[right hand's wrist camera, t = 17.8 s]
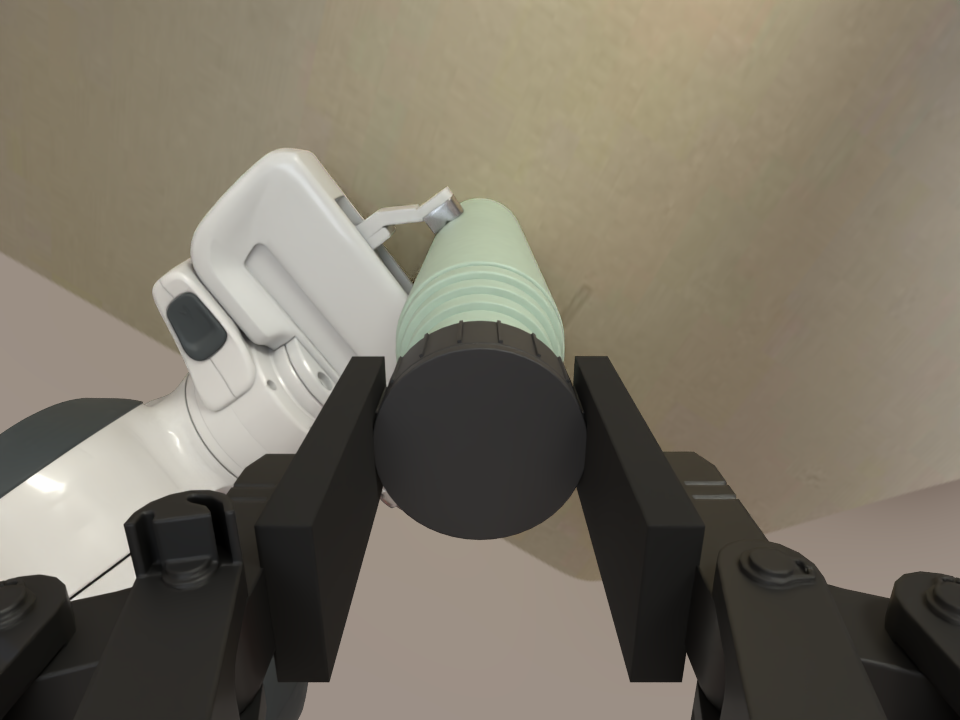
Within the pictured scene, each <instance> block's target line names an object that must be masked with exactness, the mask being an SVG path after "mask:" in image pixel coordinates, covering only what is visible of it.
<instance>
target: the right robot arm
mask: <svg viewBox="0 0 960 720" xmlns="http://www.w3.org/2000/svg"><path fill="white" fill-rule="evenodd" d="M385 387H386V371H385V356H352V357H351V359H350V361H349V363H348V364H347V366H346V368H345V370H344V371H343V373H342V375H341V376H340V378H339V380H338V382H337V383H336V385H335V387H334V389H333V390H332V392H331V394H330V395H329V397H328V399H327V401H326V402H325V404H324V406H323V408H322V409H321V411H320V413H319V414H318V416H317V418H316V420H315V421H314V423H313V425H312V427H311V428H310V430H309V432H308V433H307V435H306V437H305V439H304V440H303V442H302V444H301V446H300V447H299V449H298V451H297V452H296V454H265V455H263V456H262V457H260V458H259V459H257V460H256V461H254V462H253V463H251V464H250V465H248V466H247V467H245V469H244V470H243V471H242V473H241V474H240V476H239V477H238V478H237V480H236V481H235V483H234V486H233V487H231V488H230V490H229V491H228V493H227V494H225V493H221V492H216V491H212V490H189V491H184V492H179V493H174V494H170V495H167V496H165V497H162V498H159V499H157V500H154V501H152V502H150V503H148V504H146V505H145V506H143V507H142V508H140V509H139V510H137V511H135V512H134V513H133V514H132V515H131V516H130V517H129V519H128V520H127V521H126V522H125V523H124V524H123V525H124V529H125V533H126V537H127V542H128V546H129V550H130V554H131V558H132V562H133V567H134V571H135V575H136V579H135V582H134V584H133V586H132V587H130V588H127V589H123V590H119V591H116V592H111V593H106V594H102V595H97V596H92V597H87V598H83V599H78V600H73V601H70V599H69V596H68V592H67V589H66V585H65V584H64V583H63V582H62V581H60V580H59V579H58V578H57V577H53V576H47V575H42V574H38V575H28V576H19V577H15V578H11V579H7V580H5V581H4V580H3V581H0V720H265V718H266V709H267V706H266V699H265V692H264V686H263V680H264V677H265V674H266V672H267V669H268V667H269V664H270V662H271V659H272V657H273V654H274V661H275V667H276V674H277V680H278V682H329V681H330V678H331V674H332V670H333V667H334V663H335V660H336V656H337V652H338V649H339V645H340V641H341V638H342V634H343V630H344V627H345V623H346V620H347V616H348V612H349V609H350V605H351V601H352V598H353V594H354V590H355V587H356V583H357V580H358V576H359V572H360V569H361V565H362V561H363V558H364V554H365V551H366V547H367V543H368V540H369V536H370V532H371V529H372V525H373V521H374V518H375V514H376V511H377V507H378V503H379V500H380V496H381V493H382V489H383V485H382V483H381V480H380V478H379V476H378V474H377V470H376V467H375V457H374V443H373V429H374V423H375V420H376V417H377V416H376V414H375V412H376V409H377V407H378V404H379V401H380V399H381V396H382V393H383V391H384V388H385ZM573 387H575V389H576V392H577V395H578V397H579V400H580V403H581V405H582V408H583V410H584V419H585V423H586V427H587V436H586V451H585V465H584V471H583V474H582V476H581V478H580V481H579V483H578V485H577V490H578V494H579V498H580V501H581V505H582V508H583V512H584V516H585V519H586V523H587V527H588V530H589V534H590V538H591V541H592V545H593V548H594V552H595V556H596V559H597V563H598V567H599V570H600V574H601V578H602V581H603V585H604V588H605V592H606V596H607V599H608V603H609V606H610V610H611V614H612V618H613V621H614V625H615V628H616V632H617V636H618V639H619V643H620V647H621V650H622V654H623V657H624V661H625V665H626V668H627V672H628V675H629V679H630V682H682V678H683V671H684V664H685V657H686V652H687V655H688V657H689V660H690V662H691V665H692V667H693V670H694V672H695V675H696V677H697V686H696V692H695V698H694V704H693V710H692V717H691V720H960V578H954V577H953V576H949V575H944V574H939V573H930V572H921V571H920V572H914V573H908V574H904V575H902V576H901V577H900V578H899V579H898V580H897V581H895V583H894V587H893V590H892V594H891V597H890V598H885V597H880V596H876V595H871V594H866V593H861V592H857V591H852V590H847V589H843V588H839V587H835V586H832V585H828V584H827V583H826V581H825V578H824V577H823V575H822V574H821V572H820V571H819V570H818V568H817V567H816V566H815V564H814V563H812V562H811V561H809V560H808V559H807V558H805V557H804V556H803V555H801V554H800V553H799V552H796V551H794V550H792V549H790V548H787V547H785V546H783V545H781V544H777V543H773V542H769V541H768V540H767V538H766V537H765V535H764V534H763V533H762V531H761V530H760V528H759V527H758V526H757V524H756V523H755V521H754V520H753V519H752V517H751V516H750V514H749V513H748V512H747V510H746V509H745V507H744V506H743V505H742V503H741V502H740V500H739V499H736V495H735V493H734V492H733V491H732V489H731V488H730V486H729V485H727V484H726V481H725V479H724V478H723V477H722V475H721V474H720V472H719V471H718V470H717V468H716V467H715V466H714V465H713V464H711V463H710V462H708V461H707V460H705V459H704V458H702V457H701V456H699V455H698V454H696V453H695V452H663V451H662V450H661V448H660V446H659V445H658V443H657V441H656V439H655V438H654V436H653V434H652V432H651V431H650V429H649V427H648V426H647V424H646V422H645V420H644V419H643V417H642V415H641V413H640V412H639V410H638V408H637V407H636V405H635V403H634V401H633V400H632V398H631V396H630V394H629V393H628V391H627V389H626V388H625V386H624V384H623V382H622V381H621V379H620V377H619V375H618V374H617V372H616V370H615V369H614V367H613V365H612V363H611V362H610V360H609V358H608V356H575V364H574V381H573Z"/></svg>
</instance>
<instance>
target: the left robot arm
mask: <svg viewBox="0 0 960 720" xmlns="http://www.w3.org/2000/svg"><path fill="white" fill-rule="evenodd" d="M463 212H464V209H463V208H462V206H461V205H460V203H459V202H458V200H457V199H456V197H455V196H454V194H453V193H452V192H451V190H450V189H449V187H448V186H447V187H445V188H443V189H442V190H441V191H439V192H438V193H437V194H435V195H434V196H433V197H431V198H430V199H429V200H427V201H426V202H425V203H423V204H422V205H421V206H419V205H418V204H415V205H405V206H394V207H384V208H380V209H379V210H377V211H376V212H375V213H373V214H372V215H371V216H369V217H368V218H367V219H365V220H364V219H363V217H362V216H361V215H360V214H359V212H358V211H357V210H356V208H355V207H354V206H353V204H352V203H351V202H350V200H349V199H348V198H347V196H346V195H345V194H344V193H343V191H342V190H341V189H340V187H339V186H338V185H337V183H336V182H335V181H334V179H333V178H332V177H331V176H330V174H329V173H328V172H327V170H326V169H325V168H324V166H323V165H322V164H321V162H320V161H319V160H318V158H317V157H316V156H315V155H314V154H313V153H312V152H310V151H308V150H302V149H296V148H280V149H276V150H273V151H271V152H269V153H268V154H266V155H265V156H263V157H262V158H261V159H260V160H258V161H257V162H256V163H255V164H254V165H253V166H251V167H250V168H249V169H248V170H247V171H246V172H245V173H244V174H243V175H242V176H241V177H240V178H239V179H238V180H237V181H236V182H235V183H234V184H233V185H232V186H231V187H230V188H229V189H228V190H227V191H226V192H225V193H224V194H223V195H222V196H221V197H220V199H219V200H218V201H217V202H216V203H215V204H214V206H213V207H212V208H211V209H210V210H209V211H208V213H207V214H206V215H205V216H204V218H203V219H202V220H201V222H200V223H199V225H198V227H197V228H196V230H195V232H194V235H193V238H192V241H191V247H190V254H191V258H189V259H187V260H185V261H183V262H182V263H180V264H178V265H177V266H175V267H174V268H172V269H171V270H170V271H168V272H167V273H166V274H165V275H163V276H162V277H161V278H160V279H159V280H158V281H157V282H156V283H155V284H154V286H153V289H152V294H153V299H154V301H155V304H156V306H157V308H158V310H159V312H160V314H161V316H162V318H163V320H164V321H165V323H166V325H167V327H168V329H169V331H170V333H171V335H172V337H173V339H174V341H175V343H176V345H177V347H178V349H179V351H180V353H181V356H182V358H183V360H184V362H185V364H186V367H187V369H188V371H189V372H188V374H187V375H186V376H185V378H184V379H183V380H182V382H181V383H180V384H179V386H178V387H177V388H176V389H175V390H174V391H173V392H172V393H170V394H168V395H166V396H164V397H160V398H157V399H155V400H152V401H150V402H148V403H146V404H143V402H141V401H137V400H131V399H118V398H81V399H74V400H69V401H66V402H62V403H59V404H56V405H53V406H51V407H48V408H46V409H44V410H41V411H39V412H37V413H35V414H33V415H31V416H29V417H27V418H25V419H24V420H22V421H20V422H18V423H17V424H15V425H14V426H12V427H10V428H9V429H7V430H6V431H4V432H3V433H2V434H0V581H3V580H4V581H5V580H7V579H11V578H15V577H19V576H28V575H38V574H42V575H47V576H53V577H57V578H58V579H59V580H60V581H62V582H63V583H64V584H65V585H66V589H67V592H68V596H69V599H70V601H73V600H78V599H83V598H87V597H92V596H97V595H102V594H106V593H111V592H116V591H119V590H123V589H127V588H130V587H132V586H133V584H134V582H135V579H136V575H135V571H134V567H133V562H132V558H131V554H130V550H129V546H128V542H127V537H126V533H125V529H124V525H123V524H124V523H125V522H126V521H127V520H128V519H129V517H130V516H131V515H132V514H133V513H134V512H135V511H137V510H139V509H140V508H142V507H143V506H145V505H146V504H148V503H150V502H152V501H154V500H157V499H159V498H162V497H165V496H167V495H170V494H174V493H179V492H184V491H189V490H212V491H216V492H221V493H225V494H227V493H228V491H229V490H230V488H231V487H233V486H234V483H235V481H236V480H237V478H238V477H239V476H240V474H241V473H242V471H243V470H244V469H245V467H247V466H248V465H250V464H251V463H253V462H254V461H256V460H257V459H259V458H260V457H262V456H263V455H265V454H296V452H297V451H298V449H299V447H300V446H301V444H302V442H303V440H304V439H305V437H306V435H307V433H308V432H309V430H310V428H311V427H312V425H313V423H314V421H315V420H316V418H317V416H318V414H319V413H320V411H321V409H322V408H323V406H324V404H325V402H326V401H327V399H328V397H329V395H330V394H331V392H332V390H333V389H334V387H335V385H336V383H337V382H338V380H339V378H340V376H341V375H342V373H343V371H344V370H345V368H346V366H347V364H348V363H349V361H350V359H351V357H352V356H385V371H386V387H387V386H388V384H389V381H390V378H391V376H392V374H393V372H394V369H395V367H396V364H397V362H396V330H397V325H398V320H399V317H400V314H401V311H402V309H403V307H404V305H405V302H406V300H407V298H408V296H409V293H410V291H411V289H412V287H413V285H414V284H413V283H412V282H411V280H410V279H409V278H408V276H407V275H406V274H405V272H404V271H403V270H402V269H401V267H400V266H399V265H398V263H397V262H396V261H395V259H394V258H393V257H392V255H391V254H390V253H389V251H388V250H387V249H386V248H385V246H384V245H383V244H382V243H383V242H385V241H386V240H387V239H388V238H390V237H391V236H392V234H393V233H394V232H395V230H396V228H395V226H394V225H396V224H405V223H413V222H422V221H425V222H426V224H427V225H428V226H429V228H430V229H431V230H432V231H433V233H434V234H435V233H437V232H438V231H440V230H441V229H442V228H443V227H444V226H446V223H447V221H453V220H454V219H456V218H457V217H459V216H460V215H461V214H462V213H463ZM380 499H381V500H382V501H383V502H384V503H385V504H386V505H387V506H389V507H391V508H394V507H398V506H397V504H396V503H395V502H394V501H393V500H392V498H391V497H390V496H389V494H388V493H387V491H386V490H385V488H384V486H383V489H382V493H381V496H380ZM398 508H399V509H401V508H400V507H398ZM401 510H402V509H401ZM263 686H264V692H265V699H266V706H267V709H266V718H265V720H298V718H299V717H300V715H301V712H302V710H303V706H304V702H305V698H306V692H307V686H308V682H278V680H277V674H276V667H275V661H274V654H273V657H272V659H271V662H270V664H269V667H268V669H267V672H266V674H265V677H264V680H263Z"/></svg>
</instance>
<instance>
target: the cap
mask: <svg viewBox="0 0 960 720" xmlns="http://www.w3.org/2000/svg"><path fill="white" fill-rule="evenodd" d="M375 414H376V416H377V417H376V420H375V423H374V429H373V443H374V457H375V467H376V470H377V474H378V476H379V478H380V480H381V483H382V485H383V486H384V488H385V490H386V491H387V493H388V494H389V496H390V497H391V498H392V500H393V501H394V502H395V503H396V504H397V506H398V507H400V508H401V509H402V510H403V511H404V512H405V513H406V514H407V515H408V516H410V517H411V518H413V519H414V520H415V521H417V522H418V523H420V524H422V525H424V526H426V527H427V528H429V529H432V530H434V531H436V532H439V533H442V534H445V535H449V536H452V537H457V538H463V539H473V540H487V539H497V538H503V537H508V536H512V535H515V534H519V533H521V532H524V531H526V530H529V529H531V528H533V527H535V526H536V525H538V524H540V523H542V522H543V521H545V520H546V519H548V518H549V517H550V516H552V515H553V514H554V513H555V512H556V511H557V510H559V509H560V508H561V507H562V506H563V505H564V503H565V502H566V501H567V500H568V499H569V497H570V496H571V495H572V493H573V491H574V490H575V488H576V487H577V485H578V483H579V481H580V478H581V476H582V474H583V471H584V465H585V451H586V436H587V427H586V423H585V419H584V410H583V408H582V405H581V403H580V400H579V397H578V395H577V392H576V389H575V387H573V386H572V383H571V381H570V378H569V376H568V374H567V372H566V369H565V366H564V364H563V361H562V358H561V357H560V356H559V357H557V356H556V355H555V354H554V353H553V351H552V350H551V349H550V348H549V347H548V346H546V345H545V344H544V343H543V342H542V341H541V340H539V339H538V338H536V335H535V334H534V333H532V334H530V333H528V332H526V331H524V330H522V329H520V328H517V327H514V326H511V325H508V324H504V323H501V321H500V320H497V322H493V321H467V322H463V320H460V321H459V323H456V324H453V325H449V326H446V327H443V328H441V329H439V330H437V331H434V332H432V333H430V334H428V333H426V334H425V335H424V338H422V339H421V340H420V341H418V342H417V343H416V344H415V345H414V346H412V347H411V348H410V349H409V350H408V352H407V353H406V354H405V355H404V356H403V357H401V356H400V357H399V358H398V361H397V364H396V367H395V369H394V372H393V374H392V376H391V378H390V381H389V384H388V386H387V387H385V388H384V391H383V393H382V396H381V399H380V401H379V404H378V407H377V409H376V412H375Z"/></svg>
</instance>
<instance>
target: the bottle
mask: <svg viewBox="0 0 960 720" xmlns="http://www.w3.org/2000/svg"><path fill="white" fill-rule="evenodd" d="M460 205H461V206H462V208H463V209H464V212H463V213H462V214H461V215H460V216H459V217H457V218H456V219H454V220H453V221H447V223H446V226H444V227H443V228H442V229H441V230H440V231H438V232H437V233H436V236H435V238H434V240H433V242H432V244H431V247H430V249H429V251H428V253H427V256H426V258H425V260H424V262H423V265H422V267H421V269H420V271H419V273H418V276H417V278H416V280H415V282H414V285H413V287H412V289H411V291H410V293H409V296H408V298H407V300H406V302H405V305H404V307H403V309H402V311H401V314H400V317H399V320H398V325H397V330H396V362H397V361H398V358H399V357H400V356H401V357H403V356H404V355H405V354H406V353H407V352H408V350H409V349H410V348H411V347H412V346H414V345H415V344H416V343H417V342H418V341H420V340H421V339H422V338H424V335H425V334H426V333H428V334H430V333H432V332H434V331H437V330H439V329H441V328H443V327H446V326H449V325H453V324H456V323H459V321H460V320H463V322H467V321H493V322H497V320H500V321H501V323H504V324H508V325H511V326H514V327H517V328H520V329H522V330H524V331H526V332H528V333H530V334H532V333H534V334H535V335H536V338H538V339H539V340H541V341H542V342H543V343H544V344H545V345H546V346H548V347H549V348H550V349H551V350H552V351H553V353H554V354H555V355H556V356H557V357H559V356H560V357H561V358H562V361H563V362H564V349H565V346H564V330H563V324H562V320H561V316H560V314H559V312H558V309H557V307H556V305H555V302H554V300H553V298H552V296H551V293H550V291H549V289H548V287H547V285H546V282H545V280H544V278H543V276H542V273H541V271H540V269H539V267H538V264H537V262H536V260H535V258H534V256H533V253H532V251H531V249H530V247H529V244H528V242H527V240H526V238H525V236H524V233H523V231H522V229H521V227H520V224H519V222H518V220H517V219H516V217H515V216H514V214H513V213H512V212H511V211H510V210H509V209H508V208H507V207H505V206H504V205H503V204H501V203H499V202H497V201H494V200H491V199H486V198H474V199H469V200H466V201H463V202H461V203H460Z"/></svg>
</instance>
